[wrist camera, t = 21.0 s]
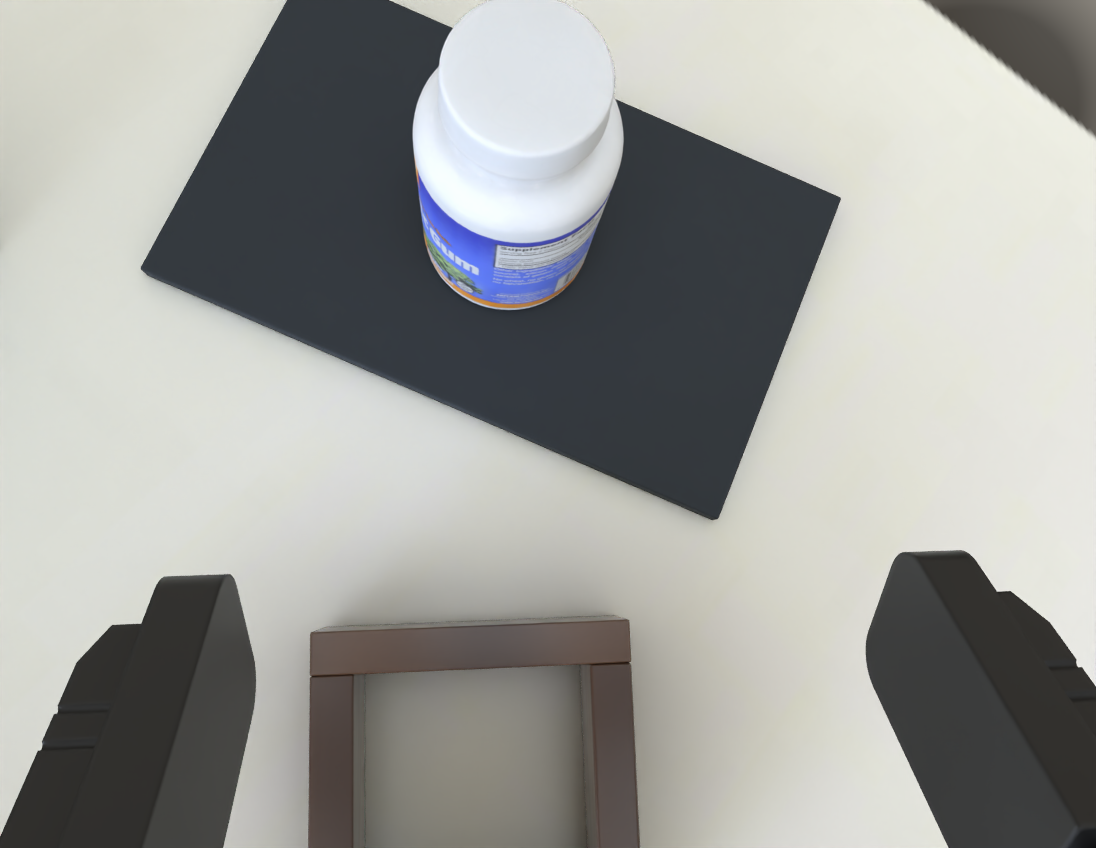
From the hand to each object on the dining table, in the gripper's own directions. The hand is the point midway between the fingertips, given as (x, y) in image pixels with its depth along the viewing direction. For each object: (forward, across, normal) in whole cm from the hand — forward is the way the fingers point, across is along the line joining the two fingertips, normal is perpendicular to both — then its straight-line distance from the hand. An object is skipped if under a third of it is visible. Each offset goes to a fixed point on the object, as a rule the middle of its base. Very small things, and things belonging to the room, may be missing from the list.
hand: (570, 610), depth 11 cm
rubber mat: (+20, 0, +4) cm, 21 cm away
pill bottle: (+20, 0, +4) cm, 20 cm away
